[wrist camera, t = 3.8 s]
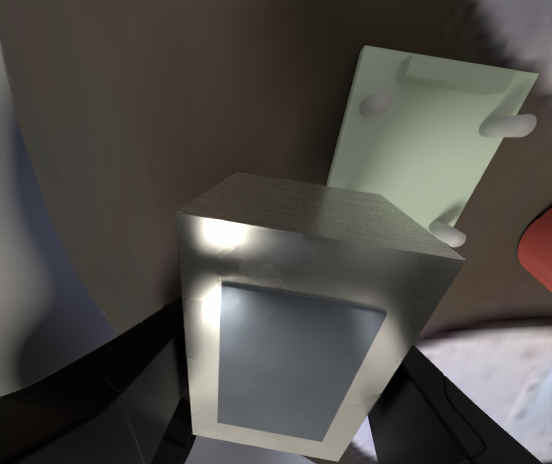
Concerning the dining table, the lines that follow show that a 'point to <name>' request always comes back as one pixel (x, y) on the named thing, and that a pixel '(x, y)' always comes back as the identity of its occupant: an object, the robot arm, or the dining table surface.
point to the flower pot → (538, 249)
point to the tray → (426, 132)
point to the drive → (300, 308)
